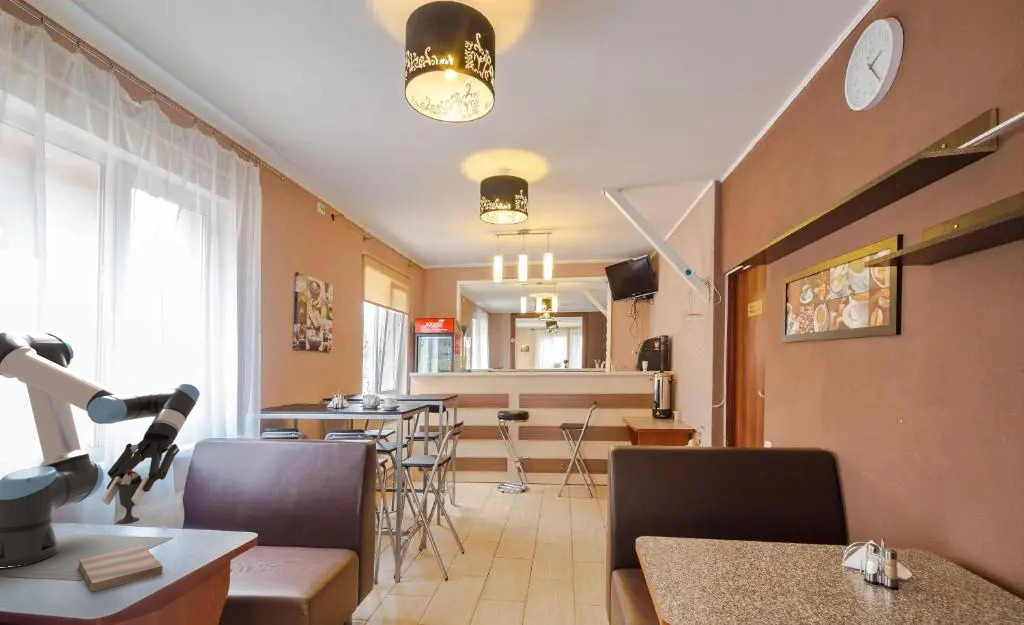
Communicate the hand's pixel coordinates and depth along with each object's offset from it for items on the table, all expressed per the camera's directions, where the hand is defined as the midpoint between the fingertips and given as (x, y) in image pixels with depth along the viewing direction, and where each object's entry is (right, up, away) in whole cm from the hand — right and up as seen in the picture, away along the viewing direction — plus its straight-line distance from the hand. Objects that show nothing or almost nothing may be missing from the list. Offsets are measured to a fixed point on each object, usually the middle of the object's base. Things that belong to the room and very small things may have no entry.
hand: (120, 501), depth 129 cm
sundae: (0, -6, +3) cm, 7 cm away
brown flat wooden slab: (-1, -18, +1) cm, 18 cm away
